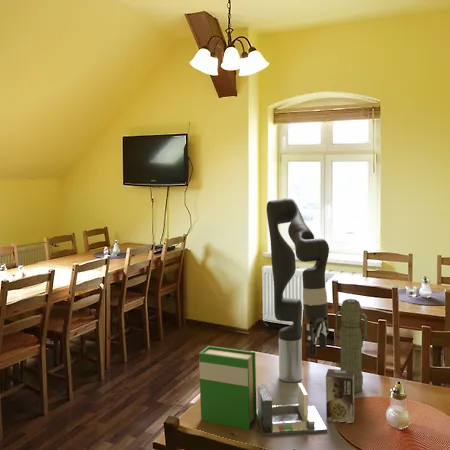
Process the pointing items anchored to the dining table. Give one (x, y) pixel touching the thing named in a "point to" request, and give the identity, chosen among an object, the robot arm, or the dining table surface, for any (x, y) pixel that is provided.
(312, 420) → the gauge frame
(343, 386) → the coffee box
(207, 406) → the hardback book
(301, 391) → the paddle
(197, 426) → the dining table surface
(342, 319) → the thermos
